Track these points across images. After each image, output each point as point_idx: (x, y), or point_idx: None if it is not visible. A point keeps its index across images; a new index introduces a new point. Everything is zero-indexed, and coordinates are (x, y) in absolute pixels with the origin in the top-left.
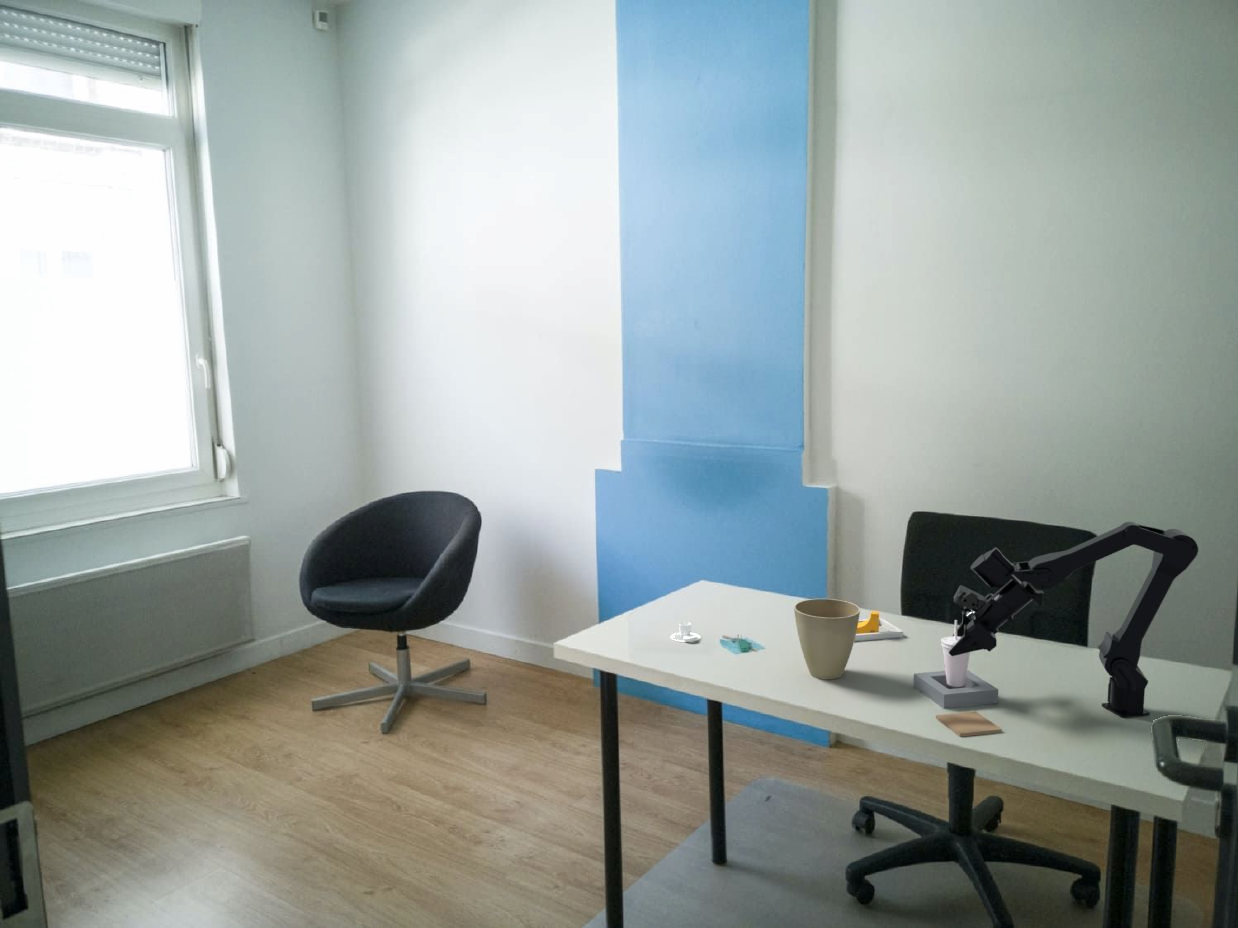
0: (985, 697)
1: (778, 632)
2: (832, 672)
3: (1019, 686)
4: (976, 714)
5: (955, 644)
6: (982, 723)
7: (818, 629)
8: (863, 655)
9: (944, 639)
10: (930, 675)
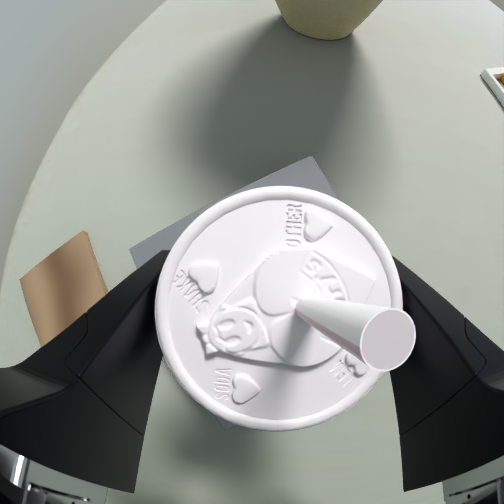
0: None
1: (459, 20)
2: (283, 14)
3: (367, 456)
4: None
5: (126, 292)
6: None
7: None
8: (454, 95)
9: (306, 212)
10: None
